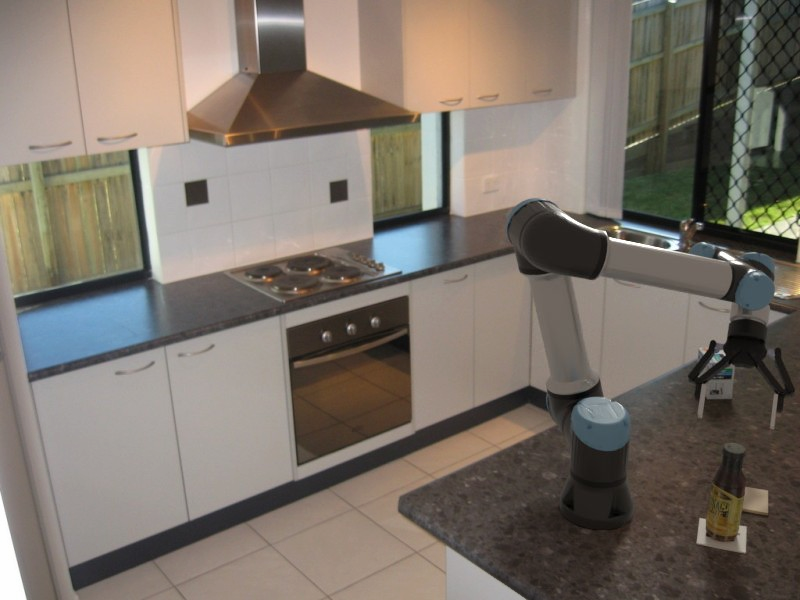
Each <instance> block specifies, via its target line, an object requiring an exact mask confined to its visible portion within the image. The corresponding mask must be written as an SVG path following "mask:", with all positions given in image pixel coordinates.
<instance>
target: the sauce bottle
mask: <svg viewBox="0 0 800 600" xmlns="http://www.w3.org/2000/svg"><path fill="white" fill-rule="evenodd" d="M746 453H747V449H746V447H745V446H743V445H742V444H739V443H737V442H727V443H725V444H724V445H723V448H722V460H721V464H720V465H719V467H718V469H717V472H716V474H715V476H714V477H713V479H712V480H711V486H710V491H709V492H710V493H709V498H708V504H707V511H706V518H705V519H706V531H707V533H708V535H709V536H710V537H712V538H714V539H716V540H719V541H723V542H724V541H731V540H734V539H735V538H736V536H737V534H738V531H739V526H740V524H741V521H742V520H741V519H742V513H743V511H742V508H743V502H744V496H745V487H747V478H746V476H745V474H744V472H743V467H744V466H743V464H744V458H745V457H746Z"/></svg>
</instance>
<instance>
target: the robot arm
mask: <svg viewBox="0 0 800 600" xmlns="http://www.w3.org/2000/svg"><path fill="white" fill-rule="evenodd" d="M505 232H506V235H507V236H506V237H507V239H508V241H509V243H510V244H511V245H512V246H513V250H514V255H515V258H516V262H517V266H518V271H519V273H520V274H521V275H522V276H524V277H526V278H527V279H528V281H529V285H530V290H531V291H530V292H531V294H532V298H533V302H534V308H535V312H536V317H537V322H538V325H539V329H540V334H541V338H542V339H541V340H542V344H543V347H544V352H545V356H546V360H547V361H546V362H547V365H548V369H549V373H550V374H549V376H548V378H547V379H546V381H545V387H546V396H545V400H546V401H545V402H546V407H547V412H548V414H549V415H550V418H551V419H552V420H553V421H554V423H555V424H556V426H557V427H558V429H559V430H560V432H561V434H562V435H563V438H564V439H565V440H566V442H567V443H568V445H569V449H570V451H569V453H570V454H569V473H568V476H567V478H566V480H565V483H564V486H563V488H562V489H561V492H560V495H559V510H560V512H561V514H562V516H564V518H566V519H567V520H569V521H570V522H571V523H573V524H575V525H576V526H580V527H583V528H587V529H590V530H591V529H592V530H600V531H604V530H613V529H618V528H620V527H623V526H625V525H626V524H628V523H629V522H630V521H631V519H632V518H633V516H634V499H633V497H632V493H631V490H630V486H629V483H628V468H629V467H628V465H629V453H630V442H631V441H630V440H631V435H632V425H631V416H630V413H629V411H628V410H627V409H626V407H624V406H623V405H622V404H620V403H619V402H618V401H613V400H612V399H610V398H608V397H604V392H603V386H602V383H601V378H600V374H599V372H598V370H596V369H595V368H593V367H591V364H590V360H589V356H588V351H587V350H588V349H587V345H586V341H585V336H584V332H583V327H582V326H583V325H582V322H581V318H580V312H579V307H578V302H577V299H576V293H575V289H574V283H573V279H572V278H578V279H582V280H583V279H584V280H588V281H595V280H597V279H599V278H600V277H601V278H607V279H612V280H618V281H623V282H628V283H632V284H637V285H642V286H648V287H653V288H658V289H663V290H664V289H665V290H669V291H675V292H678V293H679V292H680V293H684V294H688V295H689V294H690V295H695V296H700V297H704V298H705V297H706V298H709V299H716V300H719V301H725V302H730V303H731V307H730V312H729V313H730V314H729V323H728V328H727V335H726V340H725V343H722V342H721V343H720V342H717V341H716V340H715V339H712V340H710V342H709V345H708V347H707V348H708V350H707V351H706V353H705V354H704V355H703V357H702V358H701V359H700V360H699V362H698V361H697V362H698V363H697V362H696V364H695V366H694V367H693V368H692V370H691V371H690V372H689V374H687V379H688V382H689V383H691V384H694V385H695V389H694V400H695V401H697V402H699V403H698V409H697V418H698V419H703V413H704V407H705V402H706V401H705V400H706V396H705V395H706V383H707V382H708V381H710V380H711V379H712V378H713V377H715V376H716V375H717V374H718V373H720V372H721V371H722V370H723V369H725V368H727V367H728V366H730V365H731V364H732V365H734V366H735V368H745V369H750V370H751V369H753V368H755V369H756V370H757V372H758V373H759V374H760V375H761V376H762V377H763V379H764V380H765V381H766V382H767V384H768V386H769V387H770V388H771V390H773V392H774V393H773V399H772V408H771V409H772V410H771V417H770V426H769V429H770V430H775V425H776V416H777V414H782V413H783V410H784V404H785V398H788V397H789V398H790V397H791V398H792V397H794V396H795V394H796V387H795V386H794V384H793V381H792V380H791V376H790V375H789V372H788V370H787V368H786V365H785V364H784V362H783V359H782V349H781V347H775V348H774V349H767V347H766V345H767V344H766V343H767V337H768V336H767V335H768V327H767V326H768V325H769V320H770V311H771V302H772V300H773V299H774V297H775V292H776V286H775V283H774V282H775V270H776V269H775V261H774V260H773V258H772V257H770V256H769V255H768V254H765V253H759V252H757V251H756V252H755V251H754V252H752V251H751V252H746V253H743V254H742V255H740V256H737V255H735V254H734V253H731V252H729V251H726V250H725V249H722V248H719V246H716V245H715V244H710V243H708V242H704V241H701V242H697V243H695V244H694V245H693V246H692V247H691V248H690V250H689V251H688V253H687V252H683V251H676V250H671V249H667V248H663V247H662V248H661V247H657V246H653V245H648V244H643V243H639V242H638V243H637V242H633V241H628V240H623V239H618V238H613V237H610V236H609V235H608V234H607V232H606V231H605V230H601V229H596V228H592V227H590V226H587V225H585V224H584V223H583V224H582V223H580V222H578V220H576V219H574V218H572V217H571V216H569V214H567V213H566V212H564V211H563V210H561V208H560V207H559V206H558V205H557V204H556V203H554V201H553V202H552V201H551V200H548V199H544V198H541V197H532V198H531V197H530V198H527V199H524V200H522V201H521V202H519V203H518V204H516V205H515V206H514V207H513V208H512V209H511V211H510V213H509V214H508V216H507V219H506V222H505ZM720 350H723V351H724V353H725V354H726V355H725V356H724V357H723V358H722V359H721V360H720V361H719V362H718V363H716V364H715V365H714V366H713V367H711V368H710V369H709V370H708V371H706V372H705V373H704V374H703V375H701V376H700V377H699V378H698V376H699V375H700V373H701V372H702V371H703V369H704V368H705V367H706V366H707V364H708V363H709V362H710V360H711V359H712V358H713V356H714V354H715V353H718V352H719V351H720ZM766 357H769V358H770V360H771V361H773V362H774V364H775V367H776V369H777V372H778V374H779V377H780V379H781V381H782V383H783V386H781V384H780V382H779V381H778V380H777V379H776V378H775V376H774V375H773V373H772V372H771V371H770V370H769V368H768V367H767V365H766V364H765V363H764V361H763V360H764V359H765V358H766ZM783 387H784V388H783Z"/></svg>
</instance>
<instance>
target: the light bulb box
mask: <svg viewBox="0 0 800 600" xmlns="http://www.w3.org/2000/svg"><path fill="white" fill-rule="evenodd" d="M708 348H709V347H698V351H697V352H698V354H697V362H696V364H697V363H698V362H699V360H700V359H701V358H702V357H703V355H704V354H705V353H706V351H707V350H708ZM725 355H726V354H725V353H724V351H723V350H720V351H719V352H718V353H715V354H714V356H713V358H712V359H711V360H710V362H709V363H708V364H707V366H706V367H705V368H704V369H703V371H702V372H701V373H700V375H699V376H698V378H699V377H700V376H701V375H703V374H704V373H705V372H706V371H708V370H709V369H710V368H711V367H713V366H714V365H715V364H716V363H718V362H719V361H720V360H721V359H722V358H723V357H724V356H725ZM735 371H736V367H735V366H734V365H732V364H731V365H730V366H728V367H727V368H725V369H723V370H722V371H721V372H720V373H718V374H717V375H716V376H715V377H713V378H712V379H711V380H710V381H708V382H707V383H706V395H705V399H707V400H732V399H733V391H734V389H733V388H734V380H735Z"/></svg>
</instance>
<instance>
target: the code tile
mask: <svg viewBox="0 0 800 600" xmlns="http://www.w3.org/2000/svg"><path fill="white" fill-rule="evenodd" d="M747 528H748V527H747V526H745V525H740V526H739V531H738V534H737V536H736V538H735V539H734V540H731V541H724V542H723V541H719V540H716V539H714V538H712V537H710V536H709V535H708V533H707V531H706V518H702V517H699V521H698V528H697V535H696V537H697V538H696V545H698V546H703V547H704V546H705V547H708V548H709V547H710V548H714V549H719V550H725V551H729V552H733V553H740V554H744V555H745V554H747Z"/></svg>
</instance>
